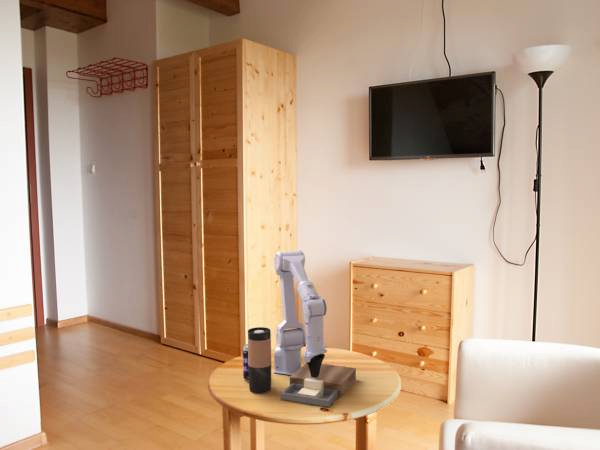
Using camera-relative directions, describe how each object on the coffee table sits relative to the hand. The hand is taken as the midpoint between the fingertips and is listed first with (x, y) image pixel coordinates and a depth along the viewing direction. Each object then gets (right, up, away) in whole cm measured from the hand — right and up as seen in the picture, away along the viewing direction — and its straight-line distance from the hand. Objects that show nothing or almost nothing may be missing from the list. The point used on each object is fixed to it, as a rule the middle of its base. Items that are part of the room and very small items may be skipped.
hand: (314, 376), depth 166 cm
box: (-2, -6, -4) cm, 7 cm away
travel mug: (-18, -5, +4) cm, 19 cm away
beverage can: (-22, -5, +13) cm, 26 cm away
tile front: (-2, -3, -5) cm, 6 cm away
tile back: (0, -3, -1) cm, 3 cm away
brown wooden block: (+3, -5, +8) cm, 10 cm away
